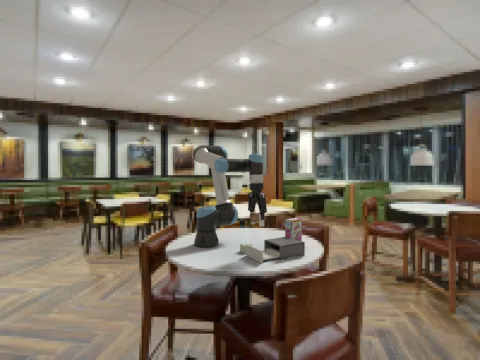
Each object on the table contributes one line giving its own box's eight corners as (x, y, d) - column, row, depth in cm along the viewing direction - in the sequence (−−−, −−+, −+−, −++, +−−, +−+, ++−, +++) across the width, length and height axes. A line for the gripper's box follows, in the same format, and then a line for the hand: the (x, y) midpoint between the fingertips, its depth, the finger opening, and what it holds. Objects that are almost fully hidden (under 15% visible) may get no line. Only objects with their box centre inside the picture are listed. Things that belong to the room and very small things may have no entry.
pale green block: (240, 251, 165) (239, 244, 165) (247, 249, 168) (247, 243, 167) (244, 253, 161) (244, 246, 161) (252, 252, 163) (252, 245, 163)
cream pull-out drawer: (269, 251, 164) (269, 240, 164) (286, 258, 151) (286, 246, 151) (245, 255, 156) (245, 244, 156) (261, 263, 143) (261, 251, 143)
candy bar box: (291, 248, 170) (291, 220, 170) (284, 246, 174) (284, 219, 173) (302, 244, 178) (302, 218, 177) (295, 243, 182) (295, 217, 181)
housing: (286, 248, 170) (286, 236, 170) (304, 254, 157) (304, 242, 157) (264, 252, 162) (264, 240, 162) (280, 259, 149) (280, 246, 149)
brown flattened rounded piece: (247, 220, 158) (246, 213, 158) (259, 219, 162) (259, 212, 162) (254, 222, 151) (254, 214, 151) (267, 221, 155) (267, 213, 155)
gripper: (240, 182, 164) (241, 223, 164) (261, 182, 146) (262, 228, 146) (252, 182, 167) (253, 222, 168) (273, 182, 149) (274, 226, 149)
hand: (257, 224), depth 157 cm, fingers closed on brown flattened rounded piece, 8 cm apart
